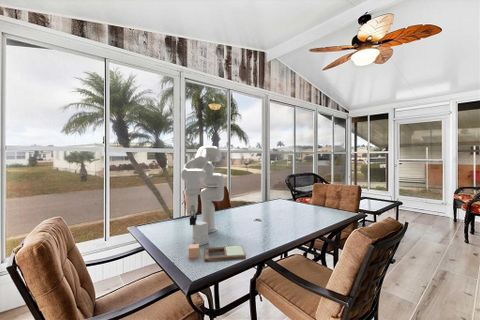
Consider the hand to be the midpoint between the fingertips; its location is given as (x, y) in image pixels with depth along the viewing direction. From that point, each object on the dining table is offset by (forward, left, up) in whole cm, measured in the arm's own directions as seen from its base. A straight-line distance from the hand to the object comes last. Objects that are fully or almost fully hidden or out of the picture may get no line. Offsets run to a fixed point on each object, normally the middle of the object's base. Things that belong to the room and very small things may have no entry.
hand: (193, 222), depth 124 cm
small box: (-18, +3, -19) cm, 27 cm away
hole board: (+1, +17, -19) cm, 25 cm away
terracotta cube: (0, 0, -19) cm, 19 cm away
